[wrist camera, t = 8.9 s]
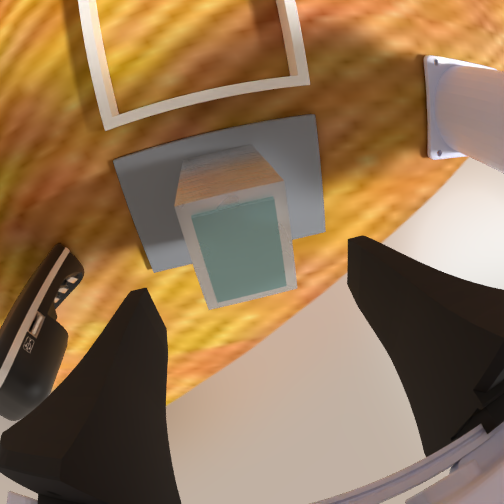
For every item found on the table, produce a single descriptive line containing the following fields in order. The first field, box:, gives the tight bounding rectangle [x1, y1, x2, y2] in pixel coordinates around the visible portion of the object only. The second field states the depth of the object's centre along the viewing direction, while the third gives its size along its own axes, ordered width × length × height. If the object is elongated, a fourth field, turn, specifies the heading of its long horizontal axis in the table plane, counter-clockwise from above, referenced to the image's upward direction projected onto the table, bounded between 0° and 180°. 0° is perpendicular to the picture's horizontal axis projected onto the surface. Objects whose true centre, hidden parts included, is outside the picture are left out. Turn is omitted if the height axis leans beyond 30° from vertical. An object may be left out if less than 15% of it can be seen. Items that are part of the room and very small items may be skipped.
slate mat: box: [113, 114, 325, 273], centre depth 18 cm, size 12×8×1 cm, turn 100°
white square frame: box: [78, 0, 310, 131], centre depth 12 cm, size 11×10×2 cm
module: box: [174, 145, 297, 310], centre depth 15 cm, size 4×5×7 cm
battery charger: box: [0, 243, 84, 421], centre depth 14 cm, size 7×4×11 cm, turn 126°
